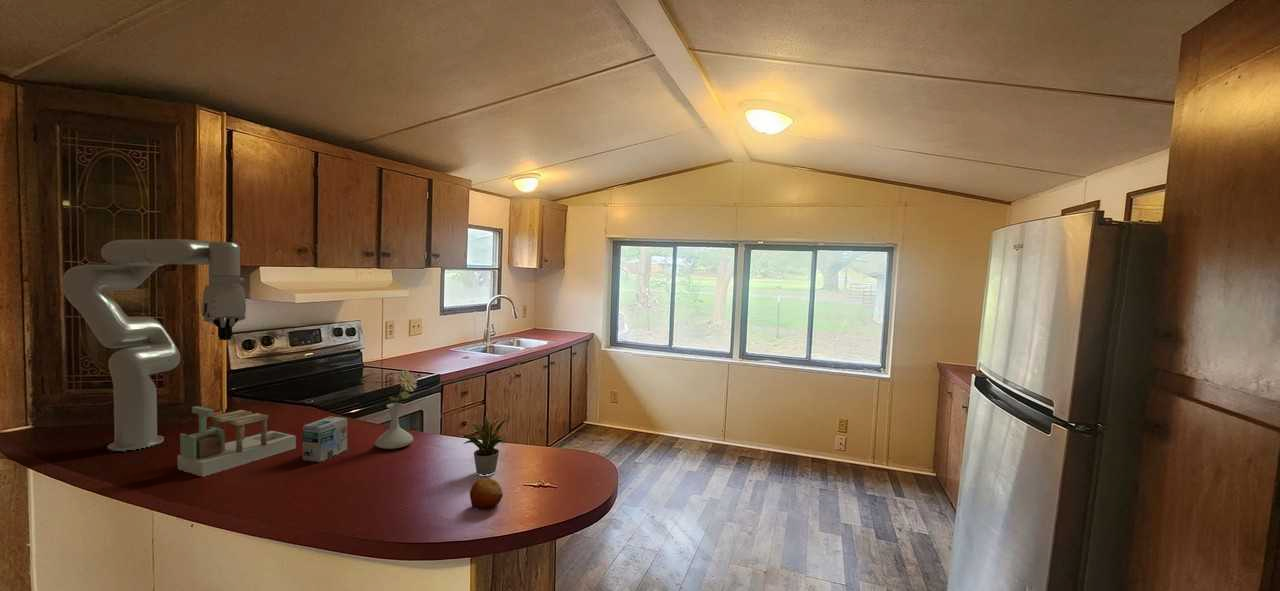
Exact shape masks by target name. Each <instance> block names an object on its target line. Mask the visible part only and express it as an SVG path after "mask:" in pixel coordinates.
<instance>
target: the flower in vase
mask: <svg viewBox="0 0 1280 591" xmlns="http://www.w3.org/2000/svg"><path fill="white" fill-rule="evenodd" d="M398 382H399V385H400V386H401V387H400V388H401V389H399V390H400V391H399V394H398V396H397V397H394V396H391V395H390V396H389V400H390V401H395V402H394V403H389V404H386V407H387V409H388V411H389V414H390V425H389V428H388V429H387V430H386V431H384V433H382V434H381V435H380V436H378V437H377V439H376V440H375V443H374V445H375V446H376V447H377V448H380V449H384V450H391V449H393V450H394V449H399V448H403V447H406V446H408V445H410V444H412V443H413V441H414V436H413V435H412V434H411V433H410V432H408V431H406V430H405V429H403V428H401V427H400V424H399V418H400V417H399V416H400V412H401V409H402V408H403V406H404V404H403V403H400V402H398V401H399V398H400V397H401V398H402V399H403V400H406V399H408V398H410V396H411V394H410V393H413V392H414V391H415V390H416V389H417V387H418V386H417V383H418V381H417V380H416V378H415V375H414V374H413V373H411V372H410V371H409V370H407V369H406V370H404V369H402V370H401V371H400V373H399V375H398ZM402 390H403V391H402ZM409 392H410V393H409Z"/></svg>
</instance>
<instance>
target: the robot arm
mask: <svg viewBox="0 0 1280 591" xmlns="http://www.w3.org/2000/svg"><path fill="white" fill-rule="evenodd" d="M100 254H101V257H102V259H103V260H104V261H106V262H107V263H108V264H82V265H76V266H73V267H70V268H69V269H67V270H66V271H65V272H64V274H63V276H62V279H61V287H62V292H63V294H64V296H65V297H66V299H67V300H68V302H69V303H70V304H71V305H72V306H73V307H74V308H75V309H76V311H78V313H80V315H81V316H82V318H83V319H84V321H85V323H86V324H87V325H88V327H89V329H91V331H92V333H93V335H94V336H95V337H96V339H97V341H98V342H99V343H100V344H101V345H102V346H104V347H105V348H108V349H119V348H120V350H117V351H115V352H114V353H112V354H111V356H110V357H109V358H108V361H107V362H108V363H107V365H108V370H109V371H108V372H109V374H110V376H111V380H112V382H111V383H112V386H113V388H112V389H113V417H114V419H113V420H114V422H113V423H114V442H111V443H109V444H108V445H107V446H106V447H107V448H106V449H109V450H113V451H123V452H127V451H126V450H133V451H137V450H136V449H139V450H142V449H141V448H144V449H147V448H146V447H148V448H151V446H152V447H155V446H157V444H158V445H160V444H161V443H163V442H164V440H165V437H164V436H163V435H158V403H157V402H158V401H157V400H158V396H157V395H158V394H157V386H156V384H155V382H154V381H153V380H152V379H151V377H150V376H149V375H153V374H158V373H163V372H169V371H171V370H173V369H175V368H177V367H178V365H179V364H180V362H181V354H180V351H179V349H178V347H177V345H176V344H175V342H174V340H173V339H172V338H171V336H170V334H169V333H168V331H167V330H166V328H165V327H164V326H163V324H162V323H161V322H160V321H159V320H157V319H155V318H153V317H151V316H128V315H127V314H126V313H125V312H124V310H123V309H122V307H121V305H119V303H117V302H116V301H115V300H114V299H112V298H111V297H109V296H108V295H106V294H104V293H103V292H115V291H116V292H118V291H119V292H120V291H122V292H123V291H125V292H126V291H131V290H133V289H136V288H137V287H139V286H141V285H142V284H143V283H144V282H145V281H146V280H147V278H148V277H150V276H151V275H152V273H154V272H155V271H156V270H157V269H158V268H159V267H163V266H165V265H201V266H204V265H205V266H207V265H208V285H205V287H204V290H203V294H202V301H201V316H202V317H204V318H203V322H206V323H210V324H211V323H212V324H213V325H215V327H217V337H218V338H219V340H220V341H230V340H232V337H233V328H234V326H235V324H237V323H238V322H239V321H243V320H245V319H246V313H247V302H246V296H245V290H244V287H243V285H241V284H242V283H244V282H245V280H246V279H245V278H244V277H242V276H241V247H240V245H239V243H236V242H232V241H230V242H229V241H209V240H197V239H186V238H184V239H181V238H178V239H177V238H168V239H167V238H164V239H163V238H162V239H161V238H160V239H159V238H158V239H157V238H155V239H114V240H112V241H109V242H107V243H105V244H104V245H103V246H102V248H101V250H100ZM122 348H123V349H122ZM154 445H155V446H154ZM109 450H108V451H109ZM113 451H112V452H113Z"/></svg>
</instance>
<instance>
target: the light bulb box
mask: <svg viewBox="0 0 1280 591" xmlns="http://www.w3.org/2000/svg"><path fill="white" fill-rule="evenodd" d="M345 450H347V451H348V418H347V417H339V416H333V415H332V416H331V415H330V416H327V417H324V418H322V419H319V420H316V421H312V422H310V423H307V424H305V425H302V460H303V461H307V460H308V461H309V462H315V461H316V463H322V462H324V461H327V460H329V459H331V458H333V457H332V456H334V455H336V456H338V455H340V454H339V453H341V452H343V451H345ZM343 453H344V452H343ZM337 454H338V455H337ZM341 454H342V453H341ZM330 457H331V458H330ZM334 457H335V456H334ZM328 458H329V459H328ZM326 459H327V460H326ZM308 461H307V462H308ZM321 461H322V462H321Z"/></svg>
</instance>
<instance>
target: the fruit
mask: <svg viewBox="0 0 1280 591" xmlns="http://www.w3.org/2000/svg"><path fill="white" fill-rule="evenodd" d="M469 497H470V498H469V499H470V503H471V509H472V510H474V509H477V510H479V511H492V510H494V509H495V508H496V507H497V506H498V505H499V504H500V502H501V500H502V499H503V490H502V487H501V485H500V484H499V482H497V481H496V480H495V479H492V478H490V477H481V478H478V479H477V480H476V481H475V482H474V483H473V484H472V485H471V488H470V491H469ZM491 509H492V510H491Z"/></svg>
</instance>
